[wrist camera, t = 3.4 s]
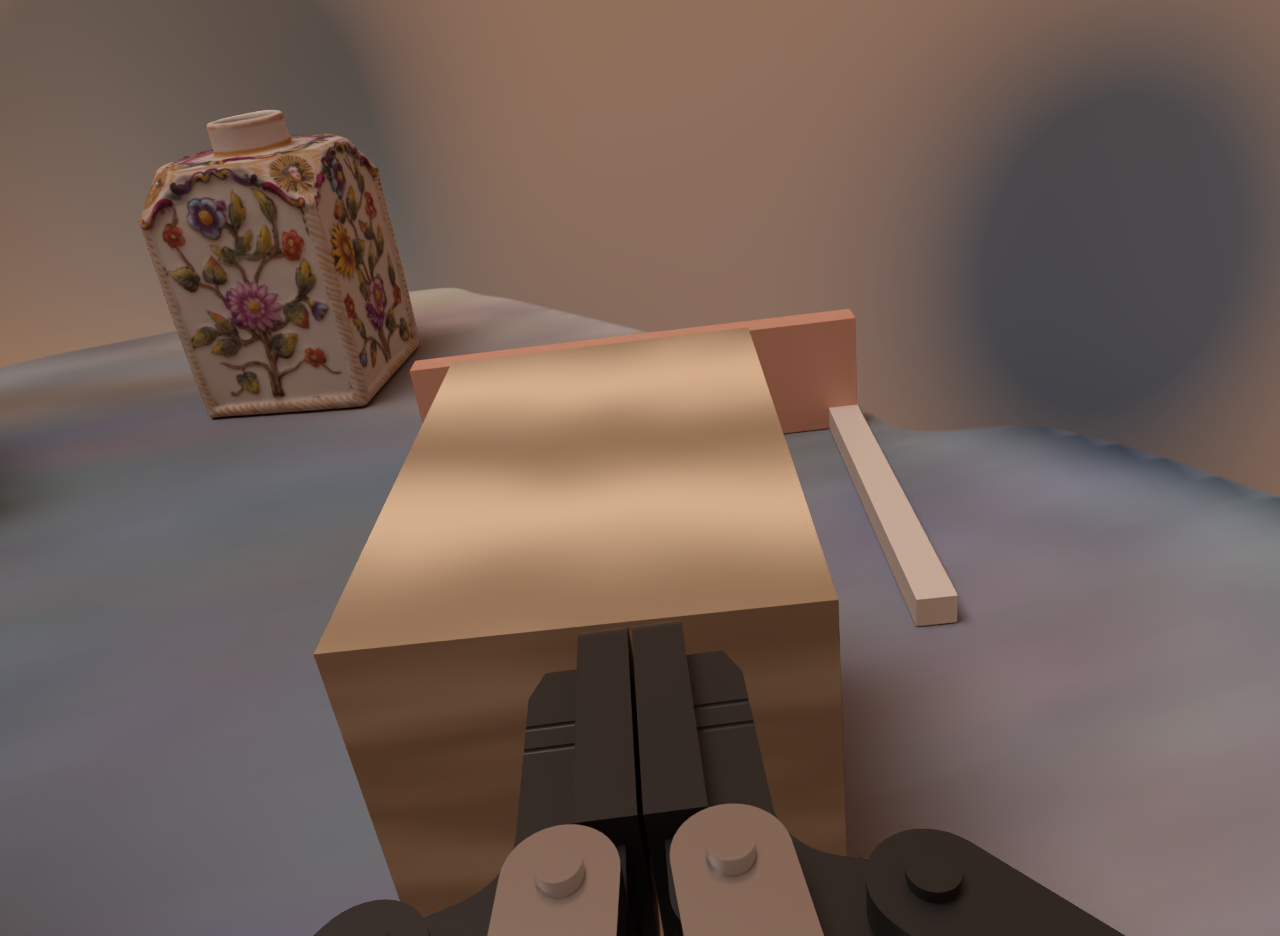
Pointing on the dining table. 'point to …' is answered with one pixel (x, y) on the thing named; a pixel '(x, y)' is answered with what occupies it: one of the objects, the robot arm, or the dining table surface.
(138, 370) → the dining table surface
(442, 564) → the wooden block
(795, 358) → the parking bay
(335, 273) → the decorative jar
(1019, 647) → the dining table surface
